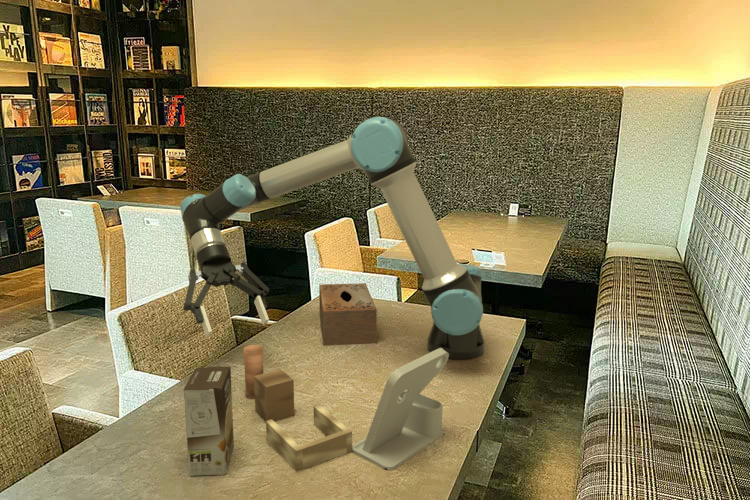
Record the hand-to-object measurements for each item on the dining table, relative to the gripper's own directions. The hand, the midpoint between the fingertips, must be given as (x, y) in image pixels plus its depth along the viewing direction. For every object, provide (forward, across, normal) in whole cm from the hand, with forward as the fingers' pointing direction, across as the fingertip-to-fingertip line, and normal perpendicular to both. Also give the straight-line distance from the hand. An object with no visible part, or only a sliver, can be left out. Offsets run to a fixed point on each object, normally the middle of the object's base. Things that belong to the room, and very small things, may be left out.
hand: (238, 328), depth 130 cm
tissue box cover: (-2, -39, -21) cm, 45 cm away
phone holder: (+38, -15, +20) cm, 46 cm away
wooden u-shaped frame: (+32, 0, +13) cm, 34 cm away
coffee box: (+28, +17, +10) cm, 34 cm away
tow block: (+19, 0, 0) cm, 19 cm away
